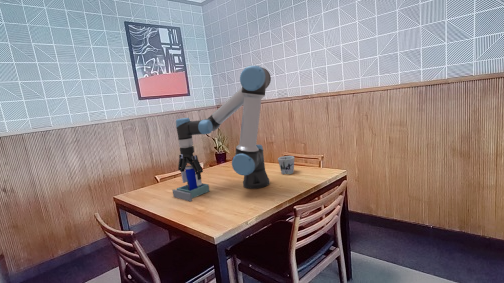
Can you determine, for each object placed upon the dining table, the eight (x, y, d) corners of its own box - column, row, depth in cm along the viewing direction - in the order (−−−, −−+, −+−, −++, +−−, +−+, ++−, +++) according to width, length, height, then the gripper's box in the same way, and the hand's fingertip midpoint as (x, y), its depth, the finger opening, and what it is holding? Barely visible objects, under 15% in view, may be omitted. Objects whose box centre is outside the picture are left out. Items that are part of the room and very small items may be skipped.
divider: (192, 200, 143) (191, 193, 143) (190, 201, 142) (189, 194, 142) (175, 196, 154) (174, 189, 153) (173, 196, 153) (172, 189, 153)
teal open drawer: (209, 191, 156) (208, 184, 155) (190, 198, 147) (189, 191, 146) (195, 188, 164) (195, 181, 164) (177, 195, 155) (176, 188, 155)
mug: (278, 175, 171) (277, 160, 169) (280, 169, 185) (278, 155, 184) (295, 174, 169) (294, 158, 168) (296, 168, 184) (294, 153, 182)
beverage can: (189, 191, 158) (185, 165, 156) (198, 190, 158) (194, 164, 156) (188, 194, 153) (184, 168, 151) (197, 193, 153) (193, 166, 151)
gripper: (206, 145, 146) (211, 184, 149) (179, 144, 163) (185, 179, 166) (194, 148, 141) (200, 188, 144) (168, 147, 158) (174, 183, 161)
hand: (192, 183), depth 155 cm, fingers open, 13 cm apart
